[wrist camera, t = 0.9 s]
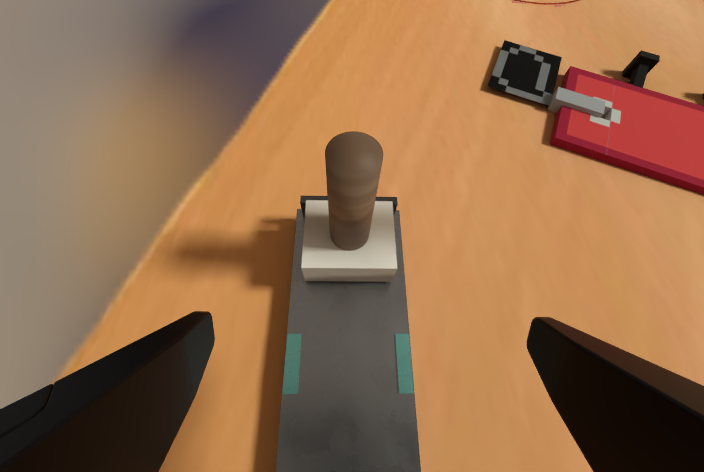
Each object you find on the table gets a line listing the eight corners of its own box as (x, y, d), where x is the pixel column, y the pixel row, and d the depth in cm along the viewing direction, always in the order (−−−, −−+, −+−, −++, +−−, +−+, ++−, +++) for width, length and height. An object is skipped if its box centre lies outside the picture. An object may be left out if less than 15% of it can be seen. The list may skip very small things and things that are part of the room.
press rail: (416, 490, 19) (432, 507, 16) (277, 492, 18) (265, 510, 15) (396, 219, 27) (403, 196, 24) (299, 218, 27) (294, 194, 24)
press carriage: (391, 281, 23) (426, 201, 13) (305, 281, 22) (281, 199, 13) (387, 219, 25) (415, 114, 16) (309, 218, 25) (291, 111, 16)
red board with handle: (504, 39, 39) (473, 122, 33) (515, 14, 37) (484, 100, 30) (778, 120, 35) (801, 234, 29) (812, 99, 32) (846, 219, 26)
